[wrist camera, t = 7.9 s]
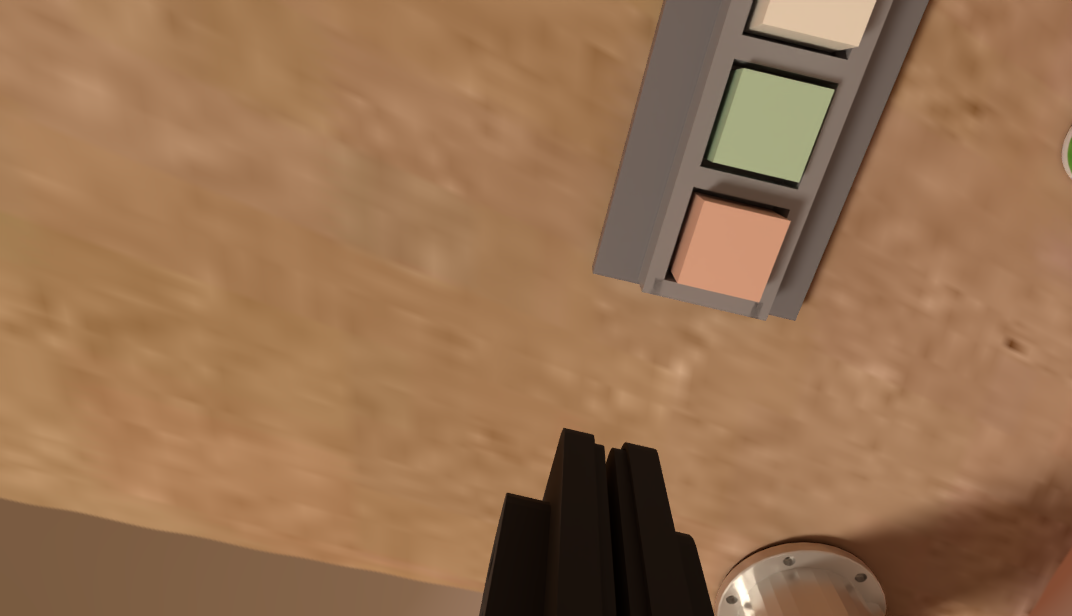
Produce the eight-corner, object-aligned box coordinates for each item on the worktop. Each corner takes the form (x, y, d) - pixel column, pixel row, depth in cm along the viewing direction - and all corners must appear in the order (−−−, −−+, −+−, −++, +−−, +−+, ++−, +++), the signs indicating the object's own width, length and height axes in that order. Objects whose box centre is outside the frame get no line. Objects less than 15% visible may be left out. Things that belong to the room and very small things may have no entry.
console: (937, -55, 29) (989, -79, 26) (786, 312, 37) (810, 336, 33) (694, -114, 29) (711, -146, 25) (592, 266, 37) (593, 285, 33)
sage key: (809, 90, 31) (834, 89, 28) (778, 175, 32) (799, 182, 29) (727, 71, 31) (743, 67, 28) (700, 156, 32) (712, 162, 29)
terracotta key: (771, 209, 32) (790, 221, 29) (743, 284, 34) (759, 302, 31) (692, 191, 32) (704, 200, 29) (668, 267, 34) (677, 283, 31)
